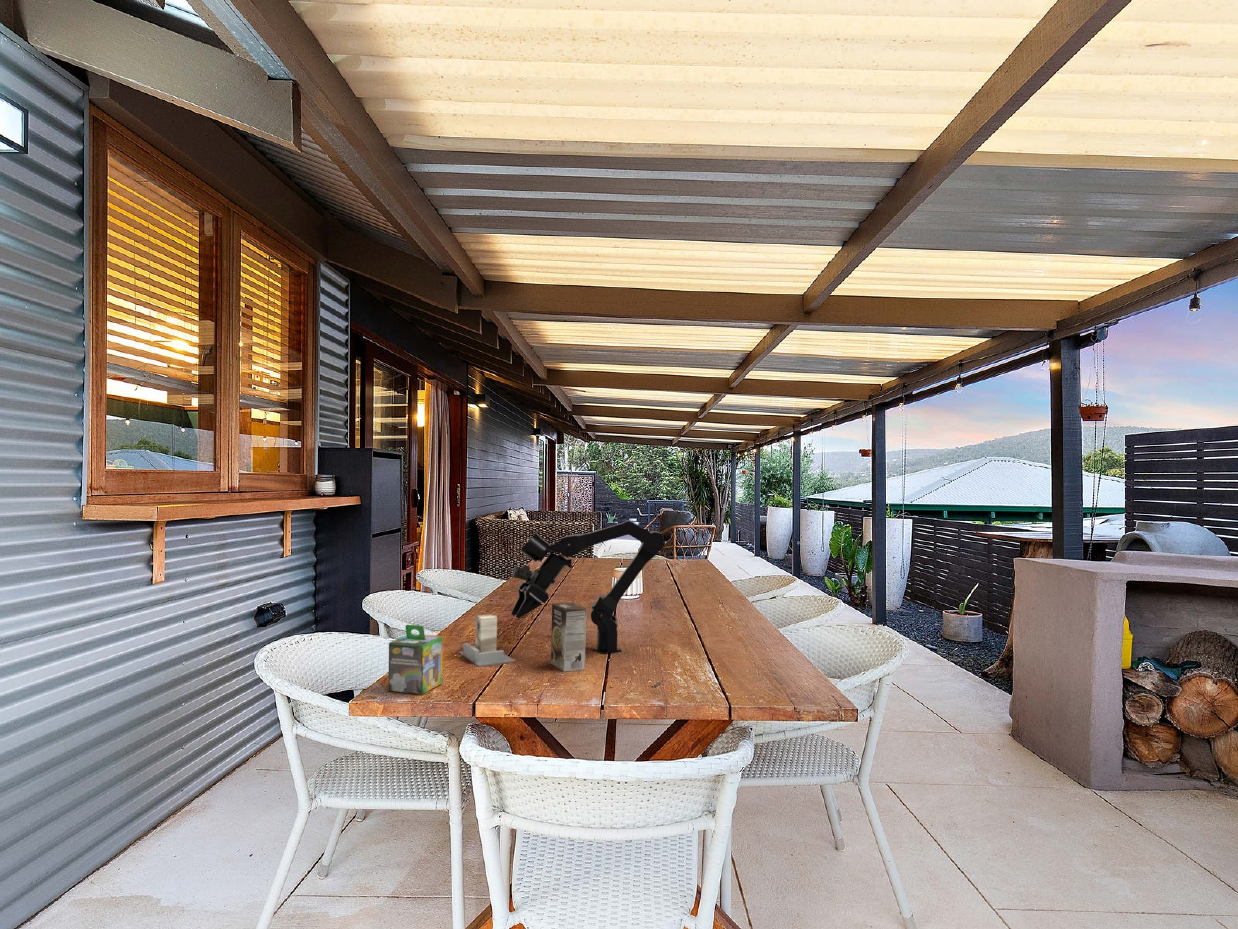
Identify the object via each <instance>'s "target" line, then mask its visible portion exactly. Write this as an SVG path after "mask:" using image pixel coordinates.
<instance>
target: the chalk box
mask: <svg viewBox="0 0 1238 929" xmlns="http://www.w3.org/2000/svg"><path fill="white" fill-rule="evenodd" d="M424 628H425V627H424V626H423V625H420V624H419V625H417V624H415V625H414V624H406V625H405V634H406V635H405V636H401V637H399V638H396V639H394V640H392V641H389V643H388V692H394V693H395V692H396V693H404V694H410V695H418V696H422V695H424V694H425V693H428V692H429V691H431V690H433V689H434V688H437V687H438V686H440V685H442V684H443V636H442V635H434V634H425V629H424ZM413 630H414V631H415V630H416V631H417V632H418V634H413V633H412V631H413Z"/></svg>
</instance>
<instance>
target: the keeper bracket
mask: <svg viewBox="0 0 1238 929" xmlns="http://www.w3.org/2000/svg"><path fill="white" fill-rule="evenodd" d="M462 650H463V651H459V654H460V655H461V656H463V657H464V658H465V659H467V660H469V661H470V662H471V663H473V664H474V665H476V666H477V667H479V668H482V667H489V666H496V665H498V666H499V665H505V664H511V663H516V660H515V659H513V658H512V657H509V656H508V655H507V654H505V650H503V649H501V650H498V649H496V651H491V652H482V653H479V650H478V649H477V648H475V645H472V644H470V643H469V642H464V643H463V649H462Z"/></svg>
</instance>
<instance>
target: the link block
mask: <svg viewBox="0 0 1238 929" xmlns="http://www.w3.org/2000/svg"><path fill="white" fill-rule="evenodd" d="M497 633H498V617H497V616H496V615H494V614H492V613H489V614H478V615H476V616H475V640H474V641H475V642H474V643H475V645H474V646H475V648H477V649H478V650H479V653H482V652H491V651H496V650H497V640H498V639H497V638H498V637H497V636H498V634H497Z"/></svg>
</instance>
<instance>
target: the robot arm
mask: <svg viewBox="0 0 1238 929" xmlns="http://www.w3.org/2000/svg"><path fill="white" fill-rule="evenodd" d="M624 536H625V537H626V536H630V537H633V538H634V539H636V540H637V541H639V542H641V544H640V546H639V548H638V551H637V553H636V555H635V556H634V558H633V559H632V560H631V561H630V563H629V564H628V565H627V567H626V568H625V570H624V571H623V572H622V574H621V575H620V576H619V578H618V579H617V581H616V582H615V584H614V585H613V586H612V587H611V588H610V590H609V591H608V592H607V593H606V594H605V595H602V593H599V595H598V597H597V599H596V600H595V601H594V602H593V603H591V611H590V619H591V622H592V623H593V625H596V626H597V629H596V630H597V631H596V646H594V647H593V646H592V650H593V651H596V652H598V653H600V654H610V653H611V654H612V653H619V652H622V651H623V650H622V648H619V647H618V633H619V632H618V619H617V617H616V616H615V615H614V612H615V610H616V608H617V606H618V603H619V602H620V600H621V599H622V597H623V596H624V594H625V593H626V592H627V590H628V589H629V588H630V586H631V585H632V584H633V582H634V581H635V579H637V577H638V576H639V574H640V573H641V571H642V570H643V568H644V567H645V566H646V565H647V563H648V562H649V561H651V560H652V559H653V558H655V557H656V556H657V554H659V553H660V552H661V551H662V550H663V549H664V547H665V545H666V541H665V537H664V536H663V534H661V532H659V531H656V530H651V531H650V530H648V529H646V528H644V527H642V526H640V525H639V524H637V523H635V522H634V521H632V520H625V521H624V522H620V523H618V524H615V525H611V526H610V525H609V526H607V527H605V528H602V529H598V530H595V531H594V530H593V531H592V532H587V533H586V532H585V533H576V534H569V535H565V536H563V537H562V538H561V539H560V540H559V541H556V542H552V543H549V542H548V541H546V540H545V539H544V538H542V537H541V535H540V534H538V533H534V534H533V535H532V536H531V538H530V539H529V540H528V541H526V543H525V544H524V545H523V546H522V549H521V550H520V552H522V554H524V555H526V556H527V557H528V558H529V559H531V560H532V561H533V562H535V563H537V562H540V563H542V564H541V565H540V566H539V567H538V568H537V569H534V571H533V570H531V568H530V566H528V565H526V564H525V565H522V566H521V567H520V566H514V570H513V572H512V575H511V578H515V579H520V580H523V582H521V583H520V584H519V585H518V586H517V594H518V597H517V600H516V602H515V604H514V606H513V607H512V610H511V612H510V613H511V614H510V615H512V616H513V617H515V618H516V619H520V618H522V617H525V615H527V614H530V613H531V612H533V611H535V609H537V608H539V607H540V606H543V605H545V604H546V603H547V601H549V598H550V597H549V592H547V591H548V590H549V588H550V587H551V586H552V585H553V584H555V583H556V579H557V578H558V577H559V575H560V574H561V572H562V571H563V569H564V568H565V567H566V568H567V569H568V570H571V569H572V568H573V564H572V561H573V559H571V558H570V559H569V558H568V559H567V558H566V557H573V556H574V555H576V554H578V553H580V552H582V551H584V550H586V549H587V548H590V547H591V546H595V545H598V544H602V543H605V542H608V541H612V540H615V539H618V538H620V537H621V538H622V537H624ZM555 553H559V555H557V554H555ZM546 556H547V557H546ZM544 559H545V560H544ZM542 561H543V562H542ZM524 581H525V582H524Z"/></svg>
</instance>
